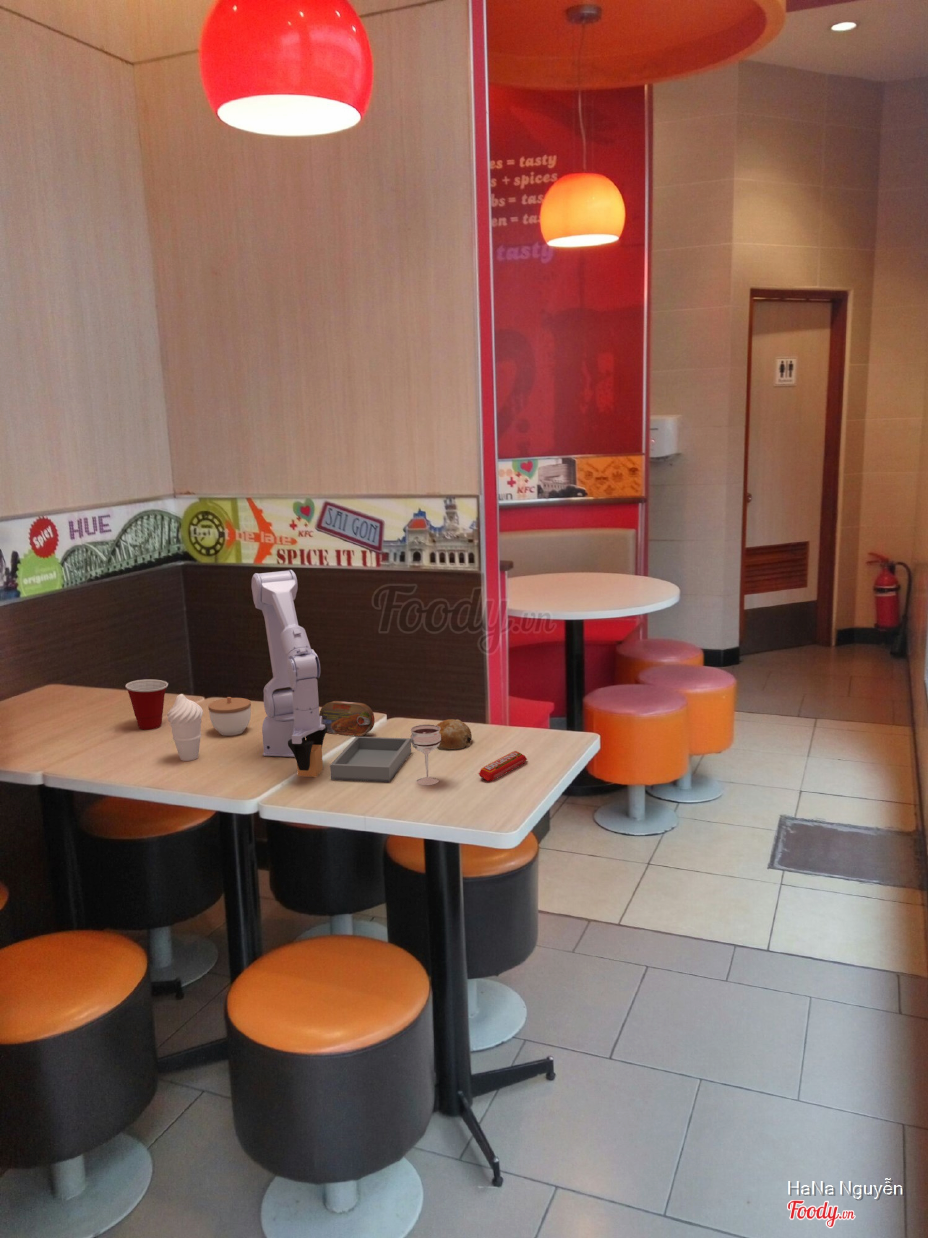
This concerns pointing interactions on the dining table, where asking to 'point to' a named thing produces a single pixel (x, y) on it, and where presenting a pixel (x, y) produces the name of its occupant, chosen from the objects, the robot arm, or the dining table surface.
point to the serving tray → (371, 759)
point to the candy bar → (502, 765)
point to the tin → (347, 718)
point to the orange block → (313, 763)
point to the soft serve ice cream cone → (186, 727)
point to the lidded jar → (230, 715)
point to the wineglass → (426, 746)
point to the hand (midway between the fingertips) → (310, 764)
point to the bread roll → (454, 734)
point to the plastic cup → (147, 702)
